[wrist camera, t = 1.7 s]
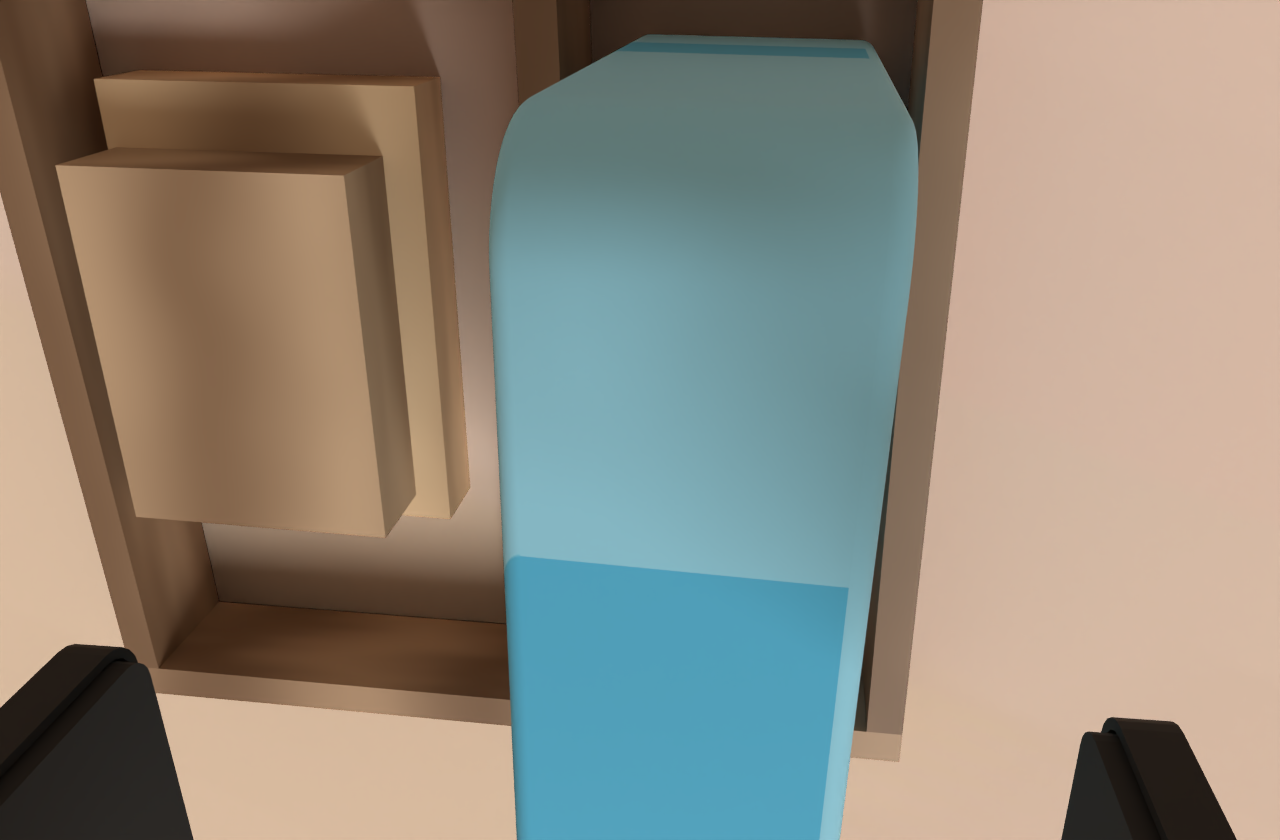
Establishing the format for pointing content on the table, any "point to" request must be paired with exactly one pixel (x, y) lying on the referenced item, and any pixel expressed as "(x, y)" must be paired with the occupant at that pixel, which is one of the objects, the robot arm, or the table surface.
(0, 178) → the rack
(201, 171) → the offcut stack
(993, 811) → the table surface
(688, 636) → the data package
